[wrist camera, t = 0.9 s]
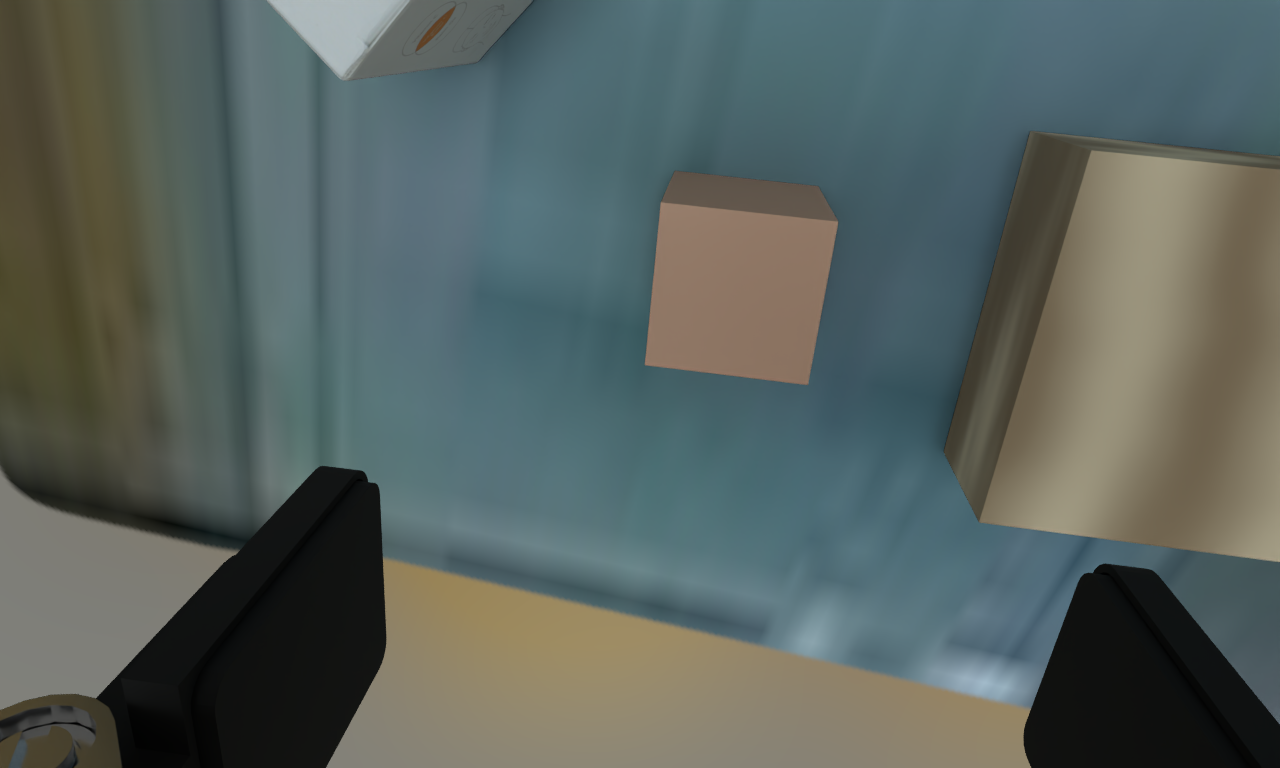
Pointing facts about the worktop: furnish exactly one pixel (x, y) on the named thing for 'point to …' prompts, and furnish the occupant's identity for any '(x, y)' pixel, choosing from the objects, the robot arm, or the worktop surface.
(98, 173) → the worktop surface
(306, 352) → the worktop surface
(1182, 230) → the maple base block
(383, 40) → the small box
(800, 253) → the terracotta block
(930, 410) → the worktop surface
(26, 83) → the worktop surface
